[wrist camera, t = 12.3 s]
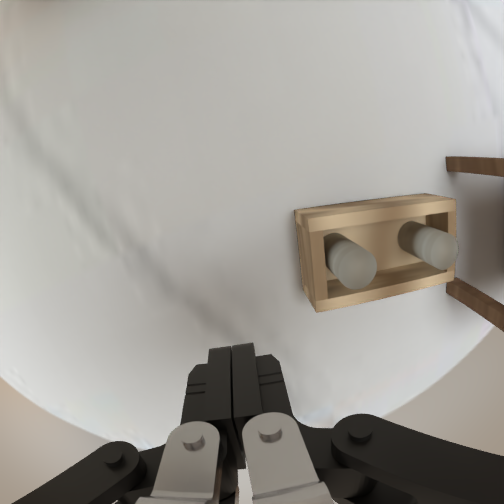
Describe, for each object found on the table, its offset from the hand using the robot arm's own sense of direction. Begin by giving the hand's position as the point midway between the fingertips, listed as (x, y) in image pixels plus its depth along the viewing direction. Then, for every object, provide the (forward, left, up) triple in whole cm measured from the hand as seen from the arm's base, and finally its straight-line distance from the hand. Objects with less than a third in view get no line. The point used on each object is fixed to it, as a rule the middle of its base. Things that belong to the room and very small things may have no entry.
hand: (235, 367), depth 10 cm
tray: (+10, 0, -13) cm, 16 cm away
